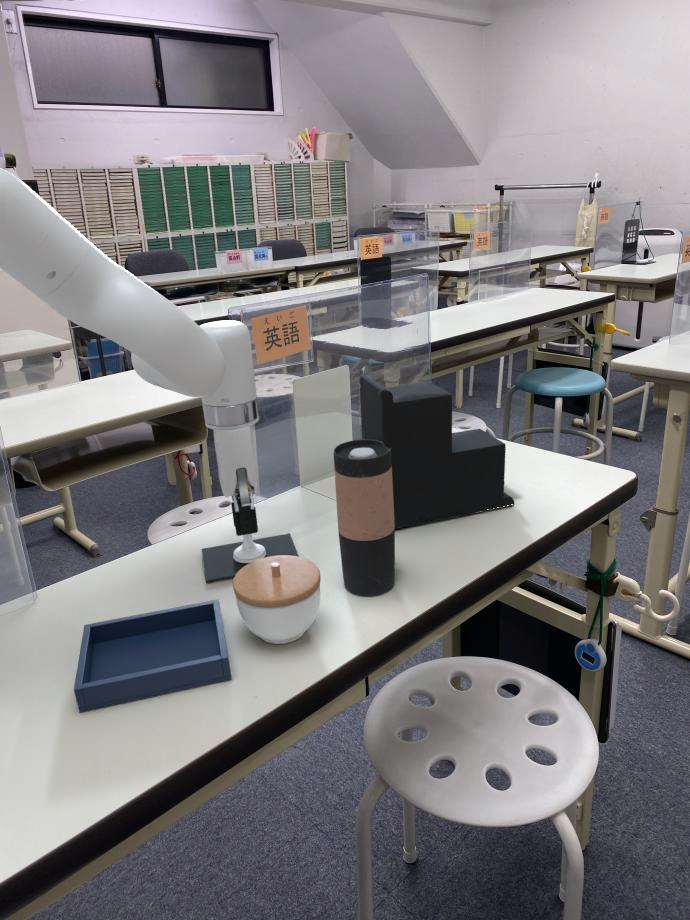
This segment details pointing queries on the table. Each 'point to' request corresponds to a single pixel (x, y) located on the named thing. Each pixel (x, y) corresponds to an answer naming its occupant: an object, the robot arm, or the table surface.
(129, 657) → the tray
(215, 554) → the mat
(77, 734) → the table surface
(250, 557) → the chess piece
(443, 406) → the bookend
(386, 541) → the travel mug
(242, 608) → the trinket box
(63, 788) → the table surface
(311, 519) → the table surface
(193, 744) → the table surface
